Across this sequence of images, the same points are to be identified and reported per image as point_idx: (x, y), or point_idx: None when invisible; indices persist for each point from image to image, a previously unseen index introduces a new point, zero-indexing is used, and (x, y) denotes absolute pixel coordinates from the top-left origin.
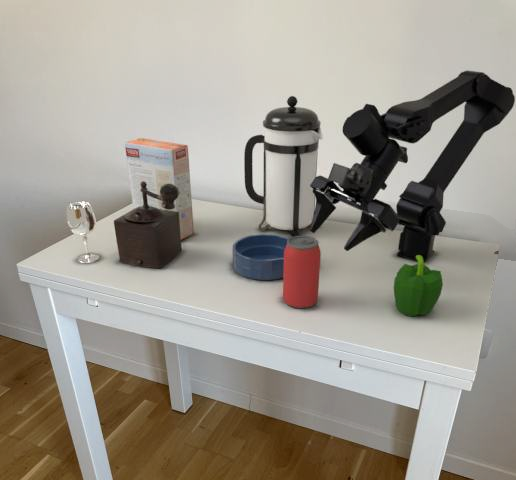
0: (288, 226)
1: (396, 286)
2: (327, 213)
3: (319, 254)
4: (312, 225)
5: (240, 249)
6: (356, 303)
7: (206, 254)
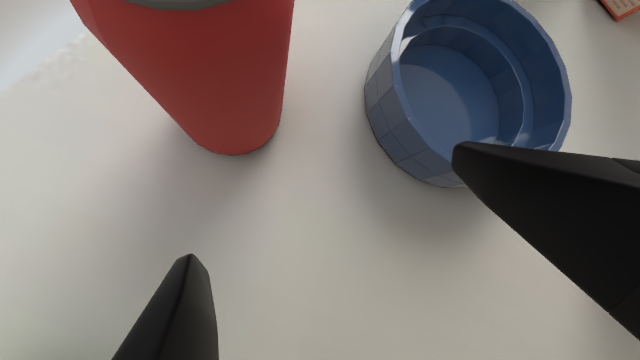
0: None
1: None
2: (617, 286)
3: (98, 34)
4: (489, 149)
5: (510, 47)
6: (159, 261)
7: None
